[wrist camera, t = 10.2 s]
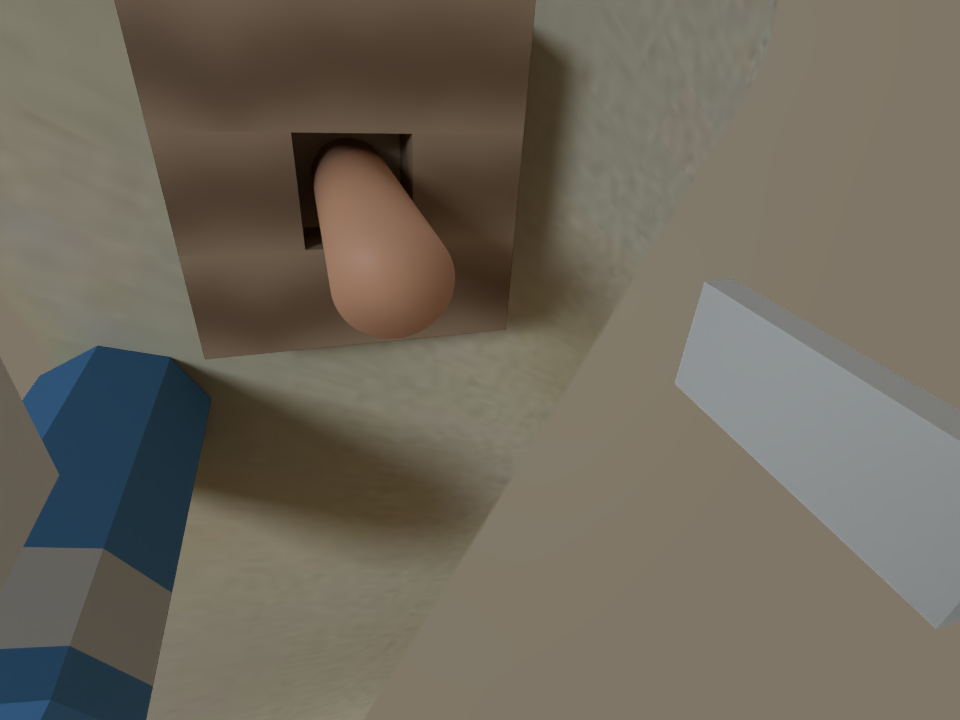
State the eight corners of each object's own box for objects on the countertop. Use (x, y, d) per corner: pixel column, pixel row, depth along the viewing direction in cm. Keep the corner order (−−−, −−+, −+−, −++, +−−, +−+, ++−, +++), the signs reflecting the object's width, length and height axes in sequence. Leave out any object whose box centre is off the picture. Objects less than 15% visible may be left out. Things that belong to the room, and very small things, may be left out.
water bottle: (83, 314, 28) (-417, 1026, 8) (244, 393, 34) (179, 948, 13) (-2, 433, 30) (-578, 1247, 10) (162, 490, 36) (-2, 1103, 15)
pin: (307, 136, 26) (324, 224, 15) (385, 137, 27) (457, 219, 16) (315, 214, 28) (335, 344, 17) (387, 212, 29) (453, 332, 18)
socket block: (137, -28, 22) (104, -39, 18) (498, 3, 27) (535, -1, 23) (215, 314, 30) (204, 359, 26) (480, 294, 35) (505, 329, 31)
